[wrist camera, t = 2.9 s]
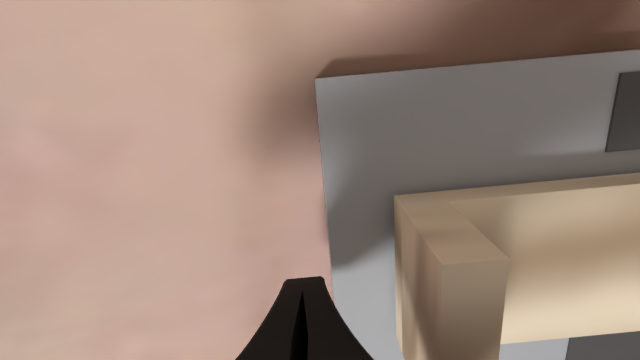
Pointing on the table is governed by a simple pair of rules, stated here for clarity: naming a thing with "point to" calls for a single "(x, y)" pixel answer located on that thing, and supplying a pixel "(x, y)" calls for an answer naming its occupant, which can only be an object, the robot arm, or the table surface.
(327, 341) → the robot arm
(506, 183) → the plate
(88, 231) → the table surface
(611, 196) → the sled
